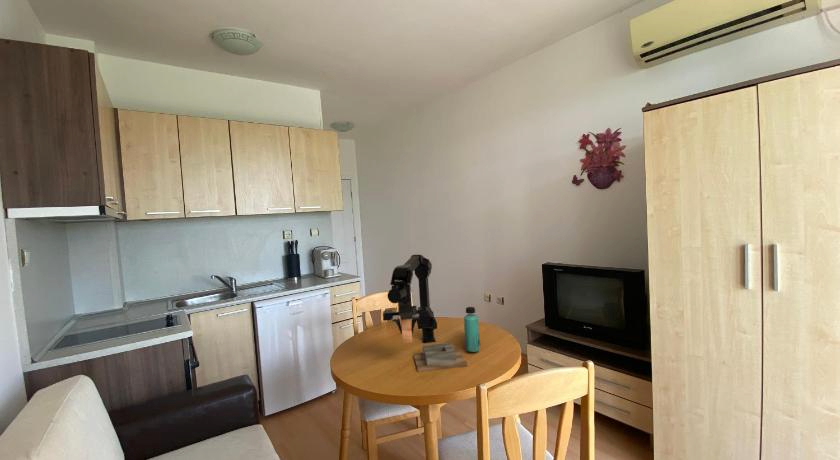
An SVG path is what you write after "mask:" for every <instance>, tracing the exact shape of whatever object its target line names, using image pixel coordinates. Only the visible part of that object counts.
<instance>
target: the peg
mask: <svg viewBox="0 0 840 460" xmlns="http://www.w3.org/2000/svg"><path fill="white" fill-rule="evenodd" d="M400 323H401V328H402V334H401V338H402V340H401V341H402V344H406V343H407V344H408V343H413V333H412V329H411V319H404V320H401V319H400Z"/></svg>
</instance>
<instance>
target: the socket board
mask: <svg viewBox="0 0 840 460" xmlns="http://www.w3.org/2000/svg"><path fill="white" fill-rule="evenodd" d="M413 357H414V361H415V365H416V369H417V372H418V373H419V372H420V373H421V372H429V371H438V370H445V369H447V370H448V369H455V368H464V367H468V363H467V360H465V357H464V356H463V355H462V352H461V351H460V350H459V348H453V346H452V344H451V343H450V342H444V343H443V342H442V343H434V344H424V345H422V352H417V353H413Z"/></svg>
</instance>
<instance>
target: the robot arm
mask: <svg viewBox="0 0 840 460" xmlns="http://www.w3.org/2000/svg"><path fill="white" fill-rule="evenodd" d="M432 269H433V264H432V262H431V261H430V259H428V258H426V257H425V256H424V255H422V254H411V256H410V257H409V259H408V260H407V261H406V262H404V264H400V265H397V266H395V267H394V269H393V270H392V274H391V280H390V283H389V284H390V286H391V289H389V290H388V293H387V295H386V296H387V299H388V301H389V302H390V303H392V304H397V308H398V309H397V310H398V311H393V310H392V309H387V310H386V309H385V310H383V311H382V320H383V321H392V322H393V323H396V325H397V327H398V330H399V332H400V334H401V335H402V328H401V320H404V319H411V329H412V334H413V333H414V330H415V329H414V328H415V325H416V326H417V329H418V330H421V335H422V337H421V342H422V344H425V343H434V342H437V340H436V338H435V333H434V332H435V330H436V329H438V322H437V319H436V317H435V315H434V311H433V310H432V308H431V306H430V305H431V304H430V302H431V301H430V287H429V277H430V275H431V273H432ZM414 275H415V277H416V278H417V280H418V292H419V295H418V296H419V307H418V306H417V305H412V303H413V302H412V291H411V289H412V288H411V284H412V279H413V276H414Z"/></svg>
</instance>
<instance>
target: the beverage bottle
mask: <svg viewBox="0 0 840 460" xmlns="http://www.w3.org/2000/svg"><path fill="white" fill-rule="evenodd" d="M465 313H466V315H465V316H464V317H463V323H464V325H465V330H464V345H465V349H466V351H468V352H473V353H474V352H479V351H481V340H480V324H479V317H478V315H476V307H474V306H468V307H465ZM464 325H463V326H464Z"/></svg>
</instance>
